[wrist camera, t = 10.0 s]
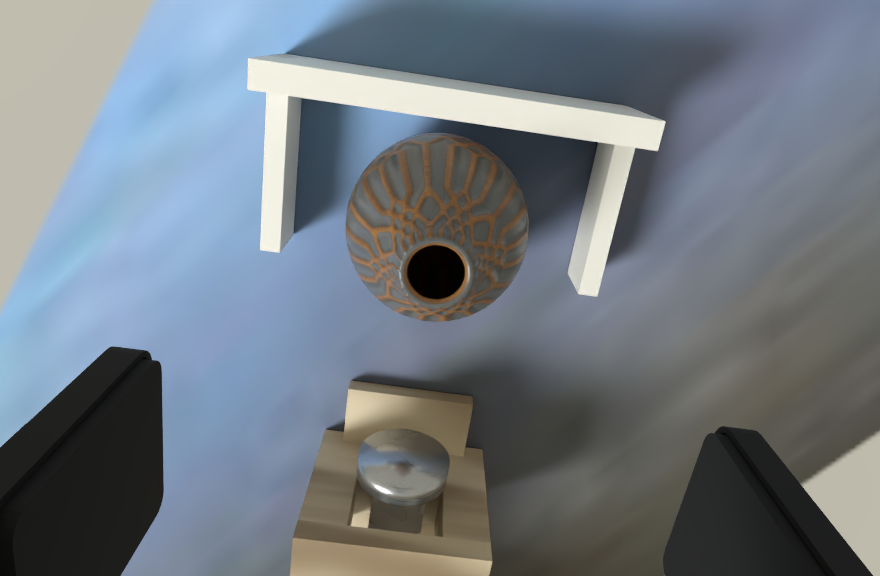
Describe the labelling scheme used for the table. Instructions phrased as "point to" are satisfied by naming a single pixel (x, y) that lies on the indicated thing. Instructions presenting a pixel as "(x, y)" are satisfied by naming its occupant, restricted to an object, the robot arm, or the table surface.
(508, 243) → the vase
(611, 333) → the table surface
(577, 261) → the cradle
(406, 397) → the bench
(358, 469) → the mallet
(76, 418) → the robot arm
